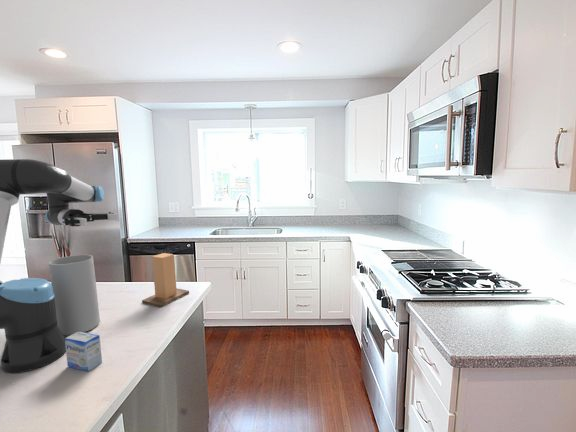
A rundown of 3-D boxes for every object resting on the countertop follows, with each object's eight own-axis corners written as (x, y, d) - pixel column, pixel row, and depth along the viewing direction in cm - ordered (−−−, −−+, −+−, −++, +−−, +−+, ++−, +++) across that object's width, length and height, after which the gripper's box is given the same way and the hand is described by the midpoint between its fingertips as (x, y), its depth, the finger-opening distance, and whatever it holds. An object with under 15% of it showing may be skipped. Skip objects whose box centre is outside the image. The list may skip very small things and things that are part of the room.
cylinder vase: (105, 317, 114) (98, 253, 111) (92, 333, 102) (84, 262, 99) (68, 321, 111) (60, 256, 108) (50, 339, 99) (40, 266, 96)
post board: (161, 307, 122) (159, 287, 121) (142, 302, 127) (140, 284, 126) (189, 293, 137) (187, 275, 136) (171, 289, 141) (170, 273, 140)
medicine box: (67, 367, 84) (63, 338, 83) (82, 358, 88) (78, 330, 87) (88, 372, 82) (85, 342, 81) (102, 362, 86) (99, 334, 85)
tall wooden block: (176, 293, 133) (173, 254, 131) (165, 298, 128) (162, 257, 126) (166, 291, 136) (163, 253, 134) (155, 296, 130) (152, 256, 128)
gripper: (101, 221, 145) (130, 224, 136) (40, 230, 123) (71, 233, 113) (99, 206, 144) (129, 207, 135) (38, 212, 122) (69, 214, 112)
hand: (102, 219), depth 124 cm, fingers open, 13 cm apart
